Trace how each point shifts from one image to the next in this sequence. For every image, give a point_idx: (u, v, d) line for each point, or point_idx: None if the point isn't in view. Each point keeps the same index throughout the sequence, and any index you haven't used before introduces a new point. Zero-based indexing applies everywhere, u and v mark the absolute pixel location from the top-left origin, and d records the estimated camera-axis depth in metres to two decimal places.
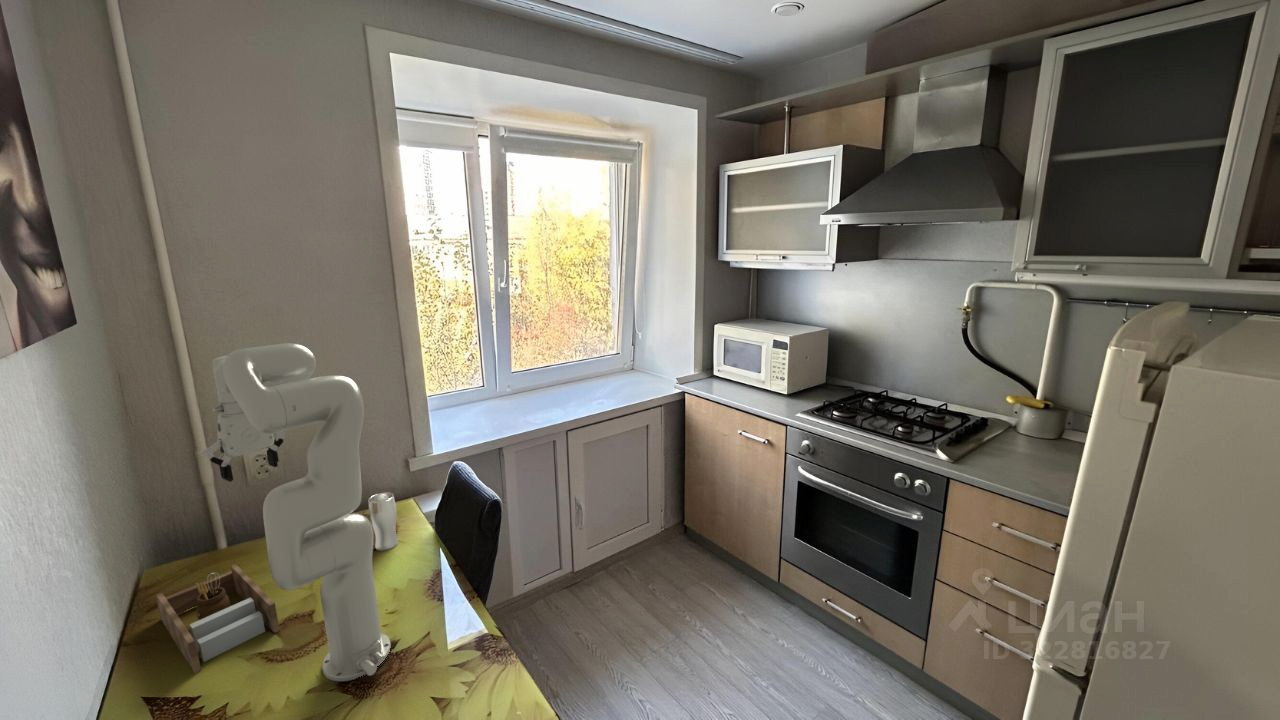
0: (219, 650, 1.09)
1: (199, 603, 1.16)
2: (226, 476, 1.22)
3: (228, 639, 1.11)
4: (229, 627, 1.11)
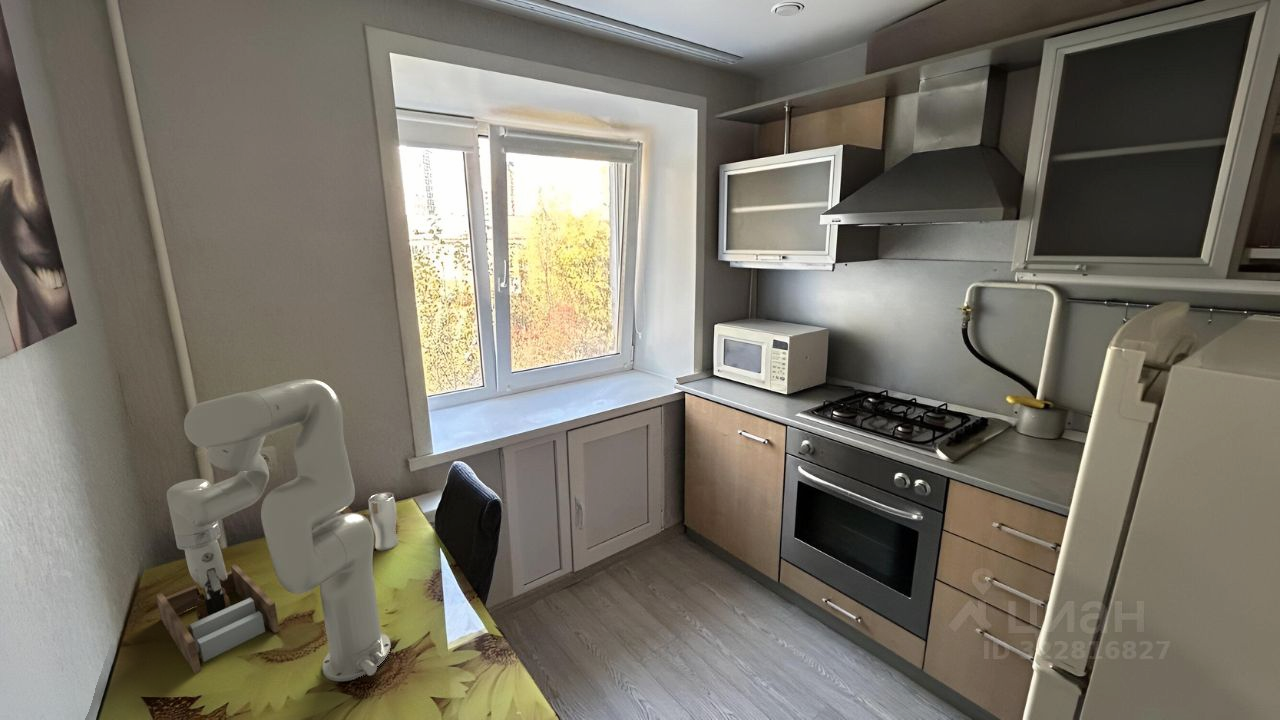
0: (219, 650, 1.09)
1: (199, 603, 1.16)
2: None
3: (228, 639, 1.11)
4: (230, 627, 1.11)
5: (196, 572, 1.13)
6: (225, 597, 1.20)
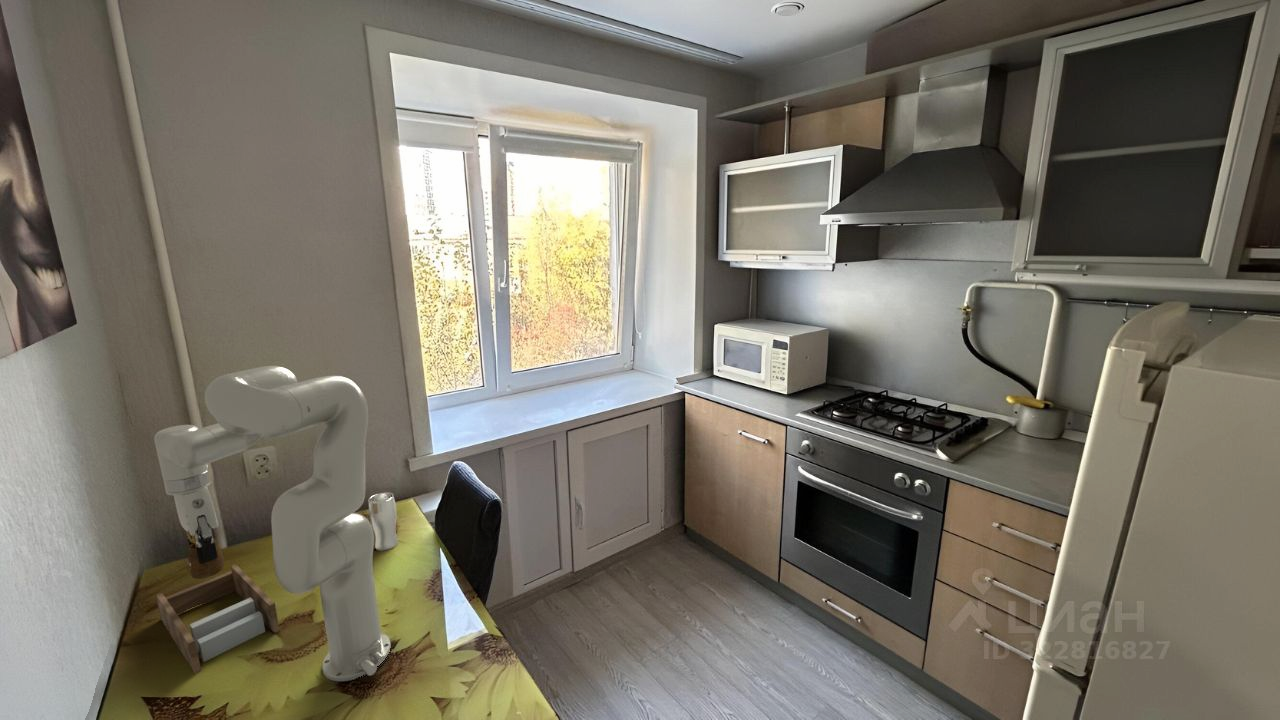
0: (219, 650, 1.09)
1: (190, 552, 1.13)
2: None
3: (228, 639, 1.11)
4: (230, 627, 1.11)
5: (186, 518, 1.10)
6: (217, 548, 1.17)
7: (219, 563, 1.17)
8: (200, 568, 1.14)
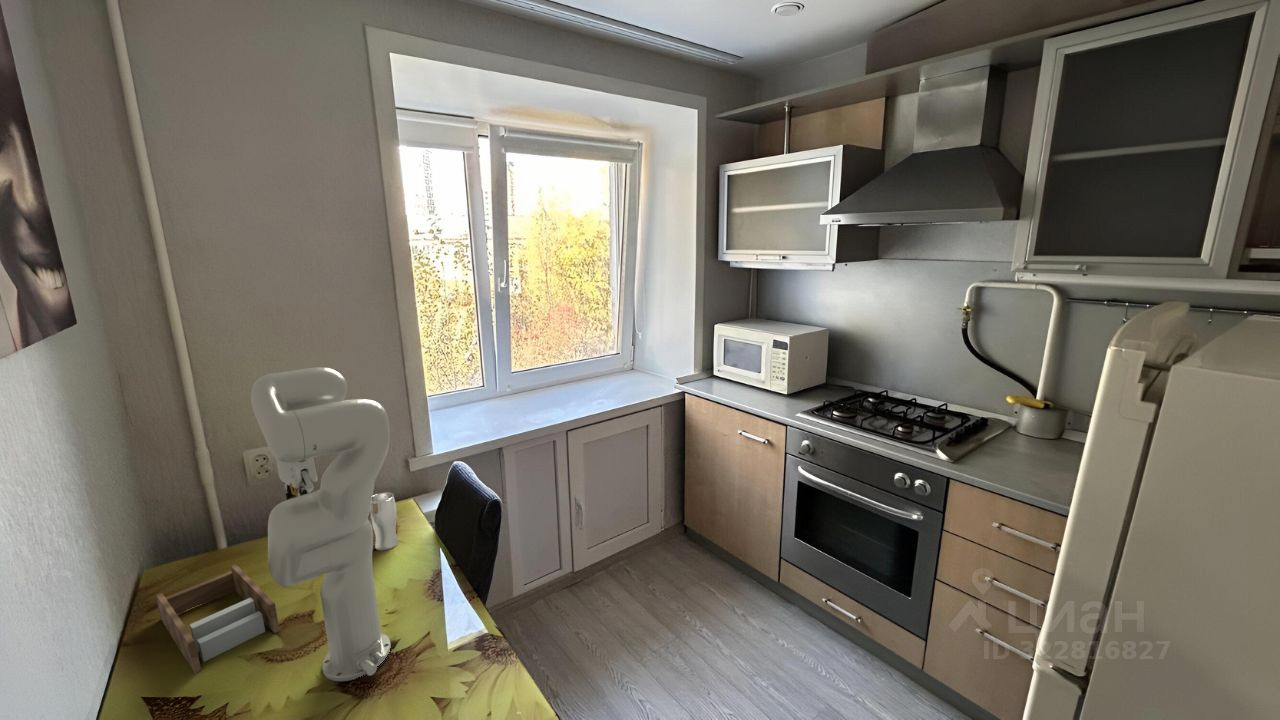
0: (219, 650, 1.09)
1: None
2: None
3: (228, 639, 1.11)
4: (230, 627, 1.11)
5: (291, 471, 1.18)
6: None
7: None
8: None
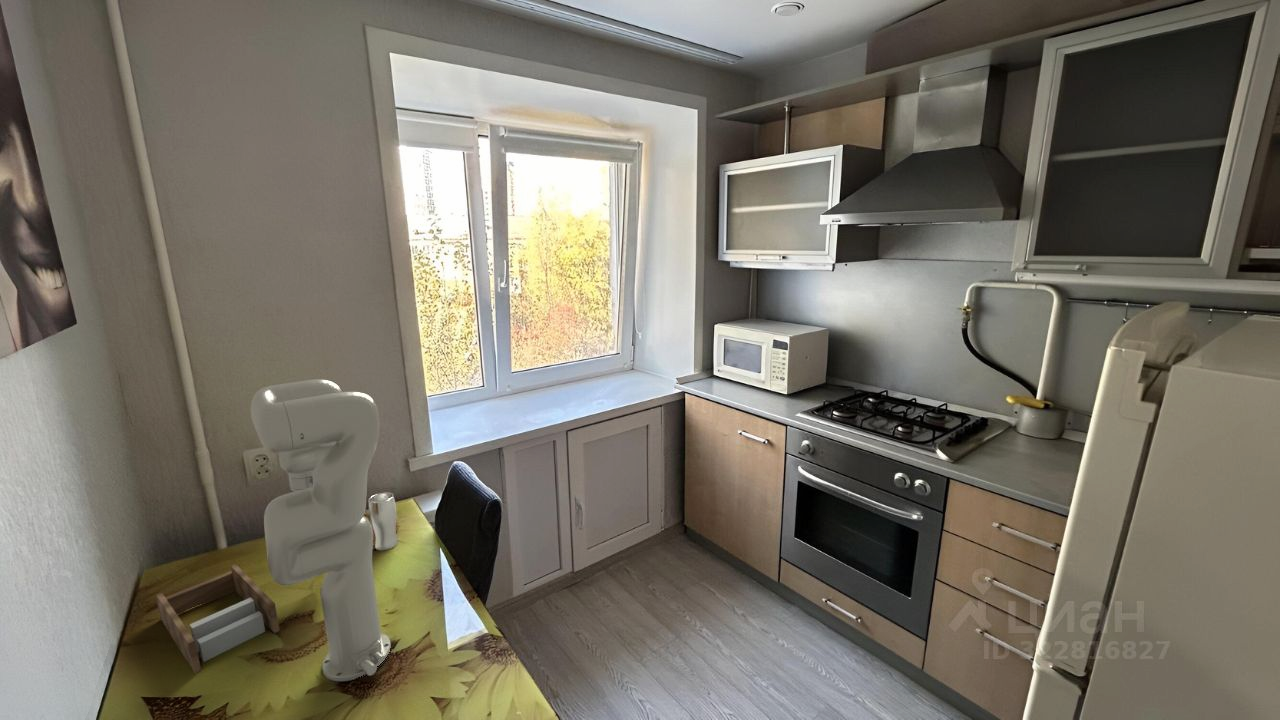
0: (219, 650, 1.09)
1: None
2: None
3: (228, 639, 1.11)
4: (230, 627, 1.11)
5: None
6: None
7: None
8: None
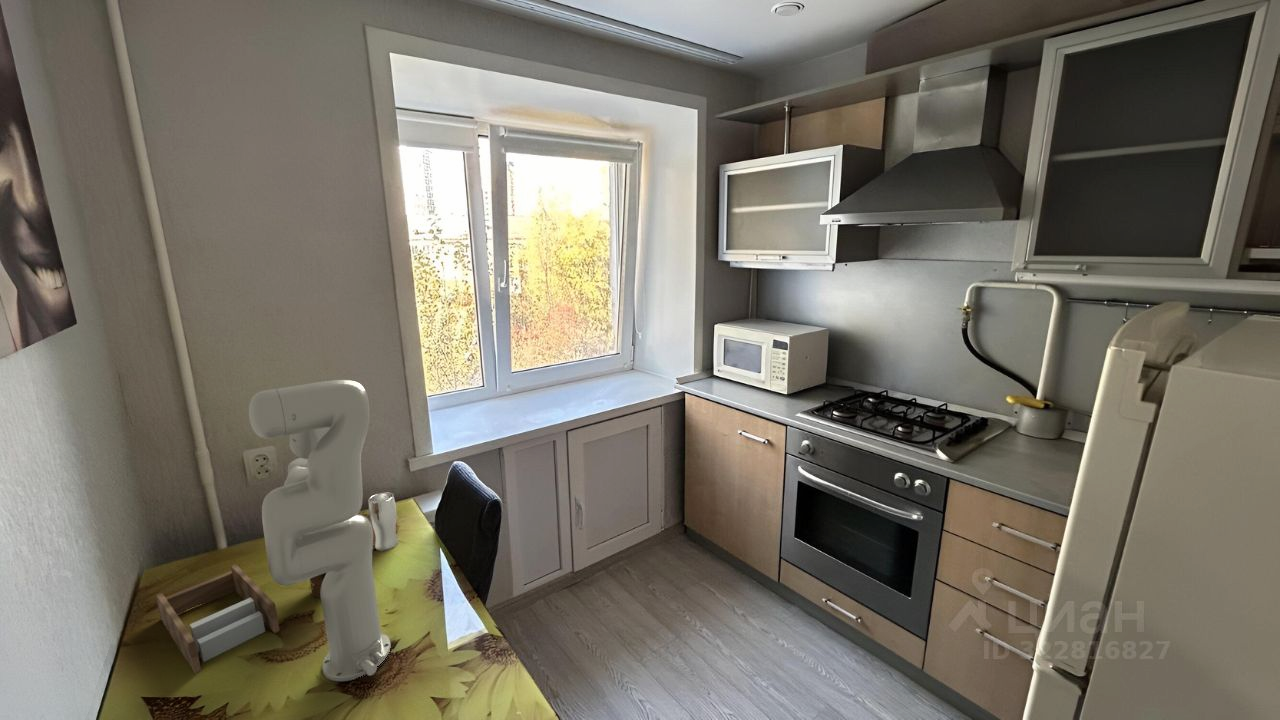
0: (219, 650, 1.09)
1: None
2: None
3: (228, 639, 1.11)
4: (230, 627, 1.11)
5: None
6: None
7: None
8: None
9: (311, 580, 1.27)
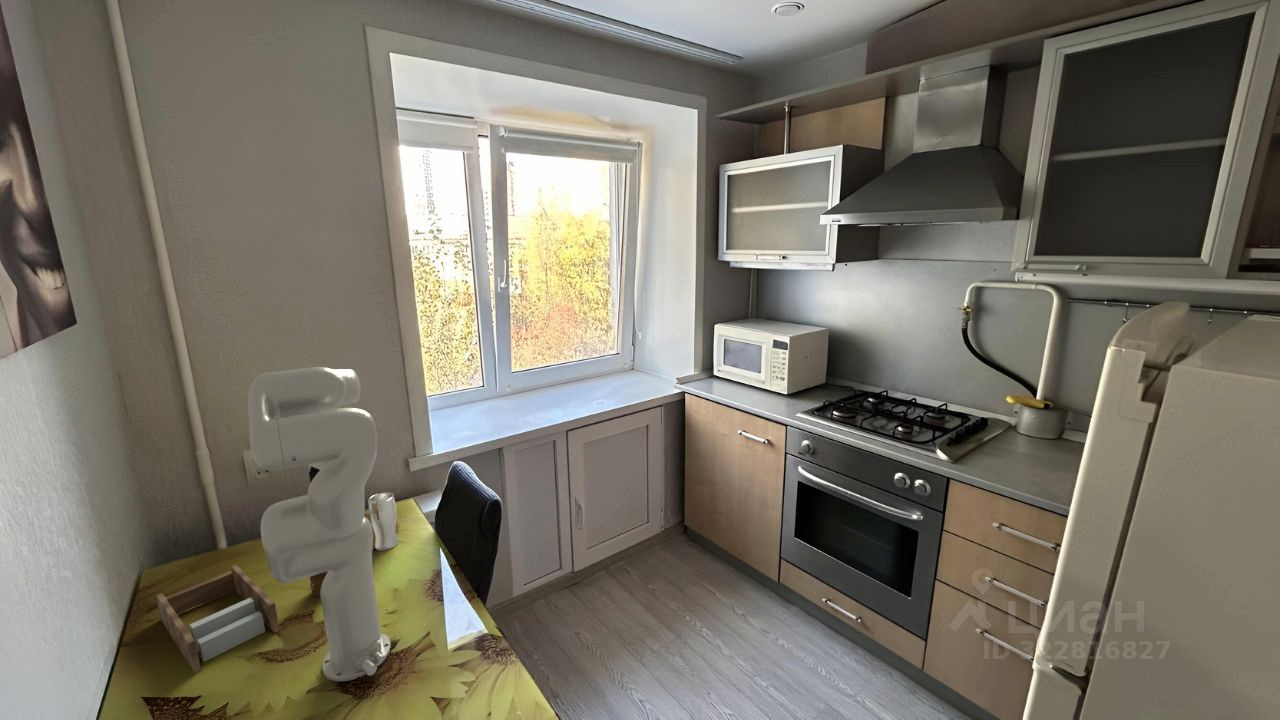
0: (219, 650, 1.09)
1: None
2: None
3: (228, 639, 1.11)
4: (230, 627, 1.11)
5: None
6: None
7: None
8: None
9: (311, 580, 1.27)
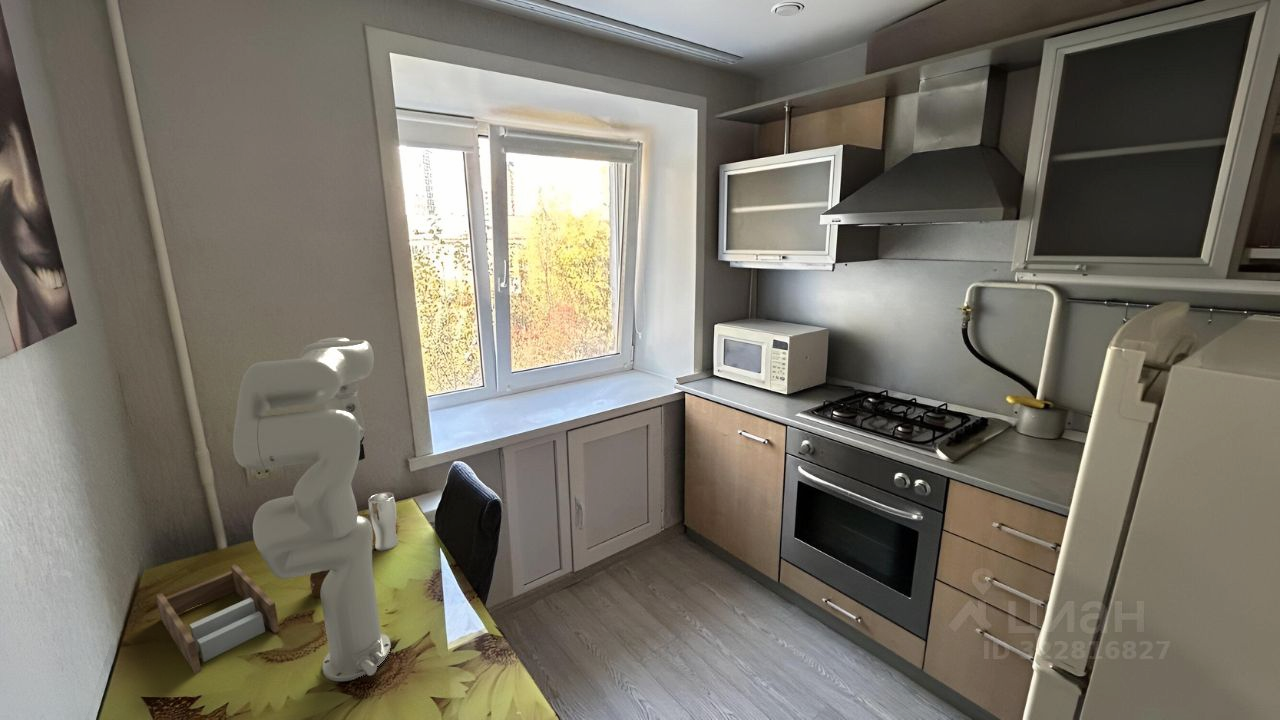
0: (219, 650, 1.09)
1: (314, 574, 1.26)
2: None
3: (228, 639, 1.11)
4: (230, 627, 1.11)
5: None
6: None
7: None
8: None
9: (311, 580, 1.27)
